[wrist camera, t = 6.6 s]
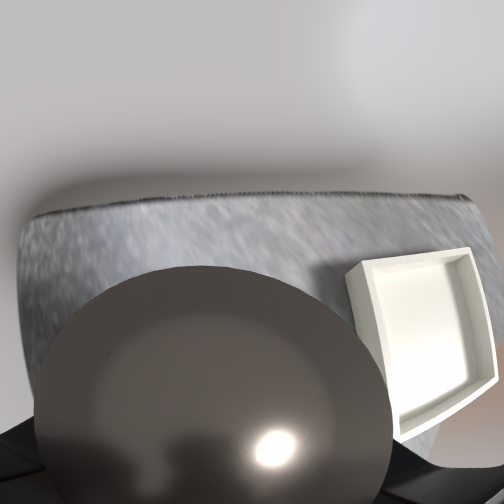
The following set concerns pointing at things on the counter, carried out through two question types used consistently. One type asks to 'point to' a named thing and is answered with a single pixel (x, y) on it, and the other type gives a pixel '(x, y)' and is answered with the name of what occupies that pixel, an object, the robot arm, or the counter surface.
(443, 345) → the tray
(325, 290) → the counter surface
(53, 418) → the canister
